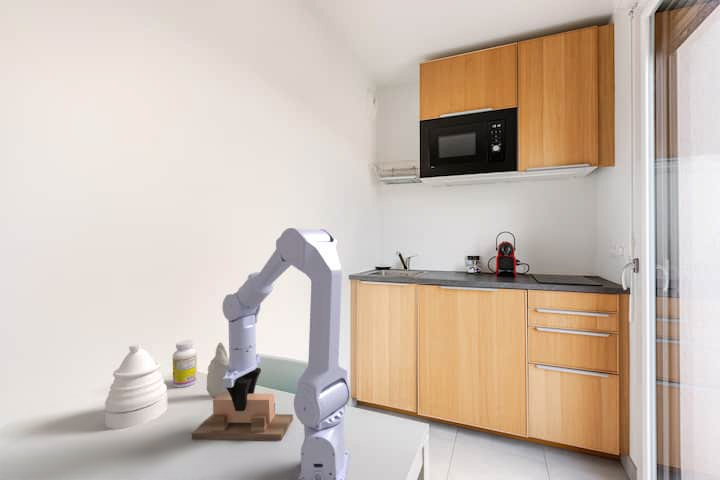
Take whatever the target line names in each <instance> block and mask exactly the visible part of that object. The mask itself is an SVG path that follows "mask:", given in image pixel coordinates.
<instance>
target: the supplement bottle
mask: <svg viewBox="0 0 720 480" xmlns="http://www.w3.org/2000/svg"><path fill="white" fill-rule="evenodd" d="M175 343H176V342H175ZM175 349H176V350H175V351H174V353H173V354H172V382H173V383H172V384H173V387H175V388H186V387H190V386H192V385H195V384H196V382H198V351H197V349H195V348H194V340H191V339H190V340H182V341H178V342H177V343H176V344H175Z"/></svg>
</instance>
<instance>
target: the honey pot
mask: <svg viewBox="0 0 720 480" xmlns="http://www.w3.org/2000/svg"><path fill="white" fill-rule="evenodd" d="M128 349H129V352H128V353H127V354H126V356H125V357H124V359H123V360H122V362H121V364H120V365H119V367H118V368H116V369H115V370H114V371H113V374H112V376H113V377H114V379H113V382H112V384H110V388H109V392H108V394H107V395H108V396H107V397H106V400H105V402H104V403H105V404H104V406H105V410H104V422H105V423H104V425H105V426H106V427H107V428H108V429H114V430H117V429H118V430H119V429H126V428H133V427H137V426H140V425H143V424H145V423H148V422H151V421H153V420H154V419H157V418H158V417H160V416H162V415H163V414H164V413H165V412H166V411H167V409H168V387H167V384H166V383H165V380H164V378H163V375H162V374H163V373H161V372H160V370H159V369H160V368H161V366H162V363H161V362H160V361H158V360H155V359H154V358H153V357H152V355H150V353H149V352H148V351H147V350H145V349H144V348H142V343H133V344H129V346H128Z"/></svg>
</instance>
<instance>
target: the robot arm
mask: <svg viewBox="0 0 720 480" xmlns="http://www.w3.org/2000/svg"><path fill="white" fill-rule="evenodd" d="M275 241H276V242H275V250H274V251H273V253H272V254H271V255H270V258H269V259H268V260H267V262H266V263H265V265H264V266H263V267H262V268H261V270H260V272H258V271H256V272H253V273H250V274H249V275H248V276H247V279H246V280H245V281H244V283H243V284H242V285H241V286H240V287H239V288H238V289H237V291H236V292H234V293H230V294H226V295H225V298H224V299H223V300H222V306H221V307H222V313H223V315H224V318H225V319H226V320H227V322H228V356H229V357H228V361H229V364H228V365H226V366H225V370H227V373H226V375H225V377H224V378H222V383H223V388H226V389H227V390H228V392H229V393H230V396H231V398H232V401H233V405H234V408H235V411H244V410H245V409H246V404H247V394H255V390H256V385H257V382H258V379H259V376H260V374H261V372H262V370H261V369H262V368H261V367H258V364H260V363H261V355H260V354H257V349H256V345H257V344H256V324H257V323H258V316H259V313H260V311H261V304H262V303H263V302H264V300H265V299H266V298H267V297H268V296H269V295H270V294H271V293H272V292H273V290H274V282H275V281H276V280H277V279H278V278H280V277H281V276H282V274H283V273H285V271H287V270H288V269H289V268H290V267H291V266H293V267H294V268H295V269H297V270H298V271H300V272H301V273H303V274H305V275H306V276H307V277H308V278H309V280H310V282H311V283H310V284H311V285H310V304H309V305H310V306H309V307H310V308H309V310H310V311H309V337H308V338H309V339H308V341H309V342H308V363H307V367H306V368H305V370H304V371H303V373H302V374H301V376H300V378H299V379H298V382H297V383H298V384H297V391H296V393H295V395H294V398H293V410H294V414H295V416H296V418H297V419H298V420H299V421H300V423H301V424H302V425H303V427H304V428H303V429H304V430H303V431H304V434H303V435H304V438H303V443H302V445H301V449H300V469H301V470H300V473H299V475H298V478H297V480H345V479H346V475H347V470H348V462H349V458H350V451H349V450H347V449H346V450H345V427H344V426H345V425H344V424H345V423H344V421H345V420H344V414H345V412H346V405H347V404H348V403H349V402H350V399H351V394H352V392H351V391H352V390H351V386H350V383H349V381H348V370H347V369H346V368H345V367H344V366H343V365H341V364H339V360H340V359H339V355H340V354H339V353H340V331H341V309H342V308H341V303H342V282H343V281H342V277H343V272H342V266H341V262H340V260H339V256H338V239H336V238H335V236H333V234H331V232H329V231H328V230H326V229H305V228H304V229H302V228H294V227H289V228H286V229H285V230H284V231H283V232H282V233H281V235H280V236H279V237H278V238H277V239H276V240H275Z"/></svg>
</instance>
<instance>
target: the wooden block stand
mask: <svg viewBox="0 0 720 480" xmlns="http://www.w3.org/2000/svg"><path fill="white" fill-rule="evenodd" d="M274 413H275V416H274V417H273V419H272V420H271V422H270V423H266V415H252V417H251V423H233V422H227V418H226V415H213V413H211V415H210V416H208V417H206V419H205V420H204V421H203V422H202V423H201V424H200V425H199V426H198V427H197V428H196V429H194V431H193V432H191V440H247V441H248V440H249V441H251V440H252V441H253V440H255V441H259V440H260V441H282V440H283V439H284V437H285V435H286V433H287V431H288V429H289V428H290V426H291V423H292V421H293V420H294V415H293V414H291V413H290V414H289V413H286V414H285V413H284V414H281V413H280V414H279V413H277V414H276V403H275V402H274Z"/></svg>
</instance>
